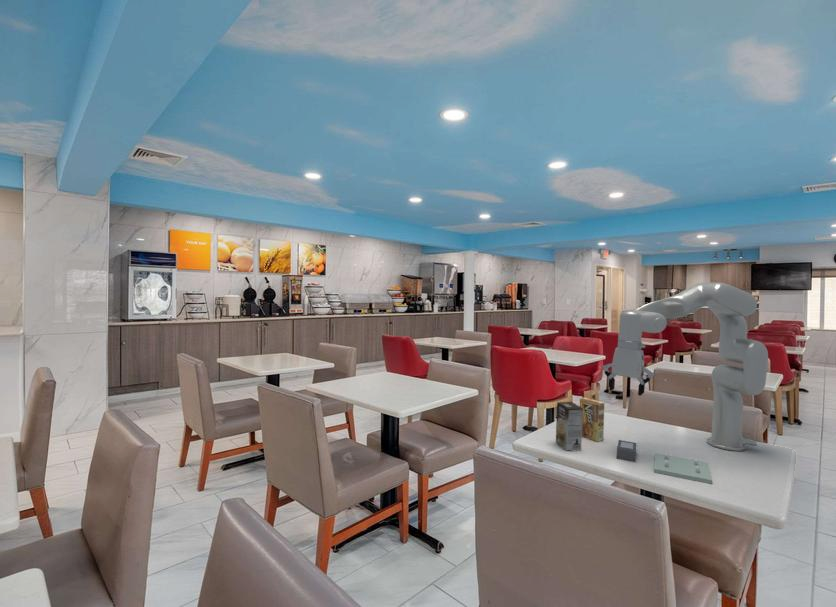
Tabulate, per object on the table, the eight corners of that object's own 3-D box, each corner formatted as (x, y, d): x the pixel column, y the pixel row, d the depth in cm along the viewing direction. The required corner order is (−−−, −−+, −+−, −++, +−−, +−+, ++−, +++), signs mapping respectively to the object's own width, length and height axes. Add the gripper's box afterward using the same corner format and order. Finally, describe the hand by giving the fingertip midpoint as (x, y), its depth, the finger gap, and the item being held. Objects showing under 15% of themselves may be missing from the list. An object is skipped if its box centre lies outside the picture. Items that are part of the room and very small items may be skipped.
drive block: (636, 453, 162) (636, 442, 161) (635, 463, 153) (635, 451, 153) (618, 450, 164) (618, 439, 164) (616, 459, 156) (617, 448, 155)
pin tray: (707, 466, 151) (708, 456, 150) (712, 484, 137) (712, 474, 137) (654, 456, 158) (655, 447, 158) (654, 472, 145) (654, 462, 144)
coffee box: (554, 442, 171) (556, 401, 170) (570, 441, 172) (571, 401, 171) (566, 451, 162) (567, 408, 161) (582, 450, 163) (583, 408, 162)
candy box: (603, 440, 174) (605, 402, 174) (597, 442, 172) (598, 403, 171) (584, 433, 182) (585, 397, 181) (578, 435, 179) (579, 398, 179)
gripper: (658, 347, 155) (654, 395, 156) (607, 342, 167) (604, 386, 167) (653, 349, 150) (649, 398, 150) (601, 343, 161) (598, 389, 161)
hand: (625, 392), depth 159 cm, fingers open, 9 cm apart
